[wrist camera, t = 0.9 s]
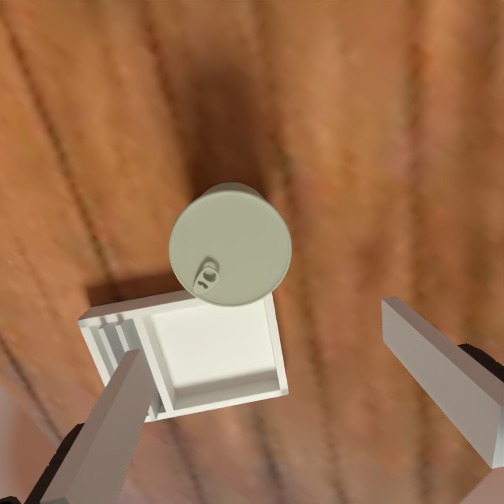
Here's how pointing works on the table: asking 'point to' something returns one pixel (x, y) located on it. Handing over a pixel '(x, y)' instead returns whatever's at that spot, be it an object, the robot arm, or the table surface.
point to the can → (230, 246)
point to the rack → (191, 350)
